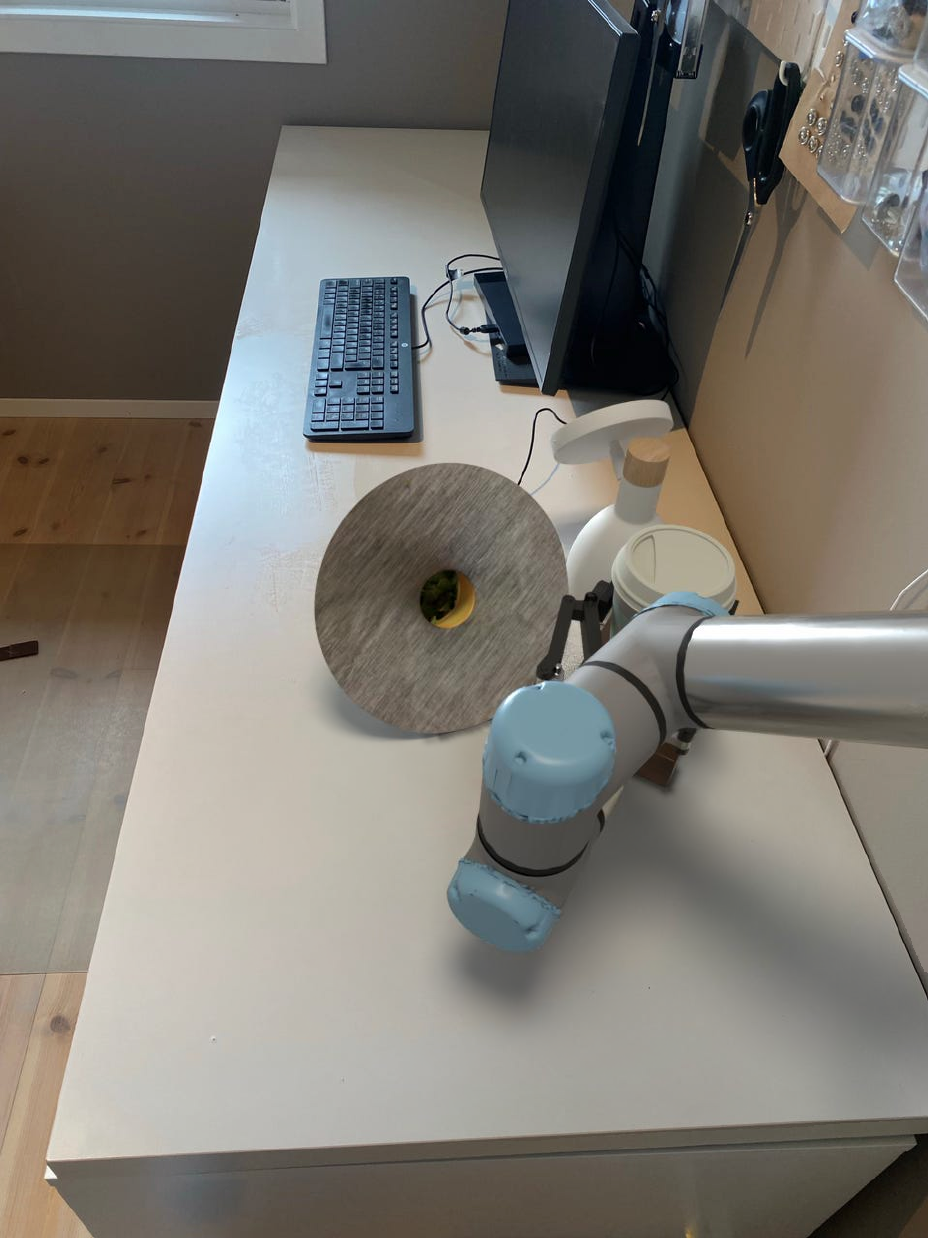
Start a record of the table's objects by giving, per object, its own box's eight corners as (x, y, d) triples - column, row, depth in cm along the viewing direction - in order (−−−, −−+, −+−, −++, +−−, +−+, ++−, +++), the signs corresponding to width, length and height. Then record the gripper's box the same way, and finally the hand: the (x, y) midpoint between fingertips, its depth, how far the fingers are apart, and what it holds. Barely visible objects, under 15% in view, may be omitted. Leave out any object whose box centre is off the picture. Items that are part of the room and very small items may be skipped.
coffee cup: (628, 619, 92) (658, 503, 81) (721, 673, 87) (766, 558, 76) (566, 678, 86) (591, 561, 75) (663, 740, 81) (703, 625, 71)
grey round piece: (550, 658, 102) (480, 447, 98) (618, 678, 85) (537, 425, 81) (344, 744, 96) (260, 523, 92) (373, 784, 80) (272, 516, 76)
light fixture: (563, 647, 102) (636, 617, 83) (519, 471, 104) (579, 402, 85) (664, 624, 105) (756, 591, 86) (618, 454, 107) (698, 384, 88)
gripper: (454, 731, 76) (564, 575, 90) (706, 852, 69) (783, 663, 83) (458, 672, 70) (575, 516, 84) (733, 797, 63) (810, 605, 77)
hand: (678, 589), depth 84 cm, fingers closed on coffee cup, 9 cm apart
